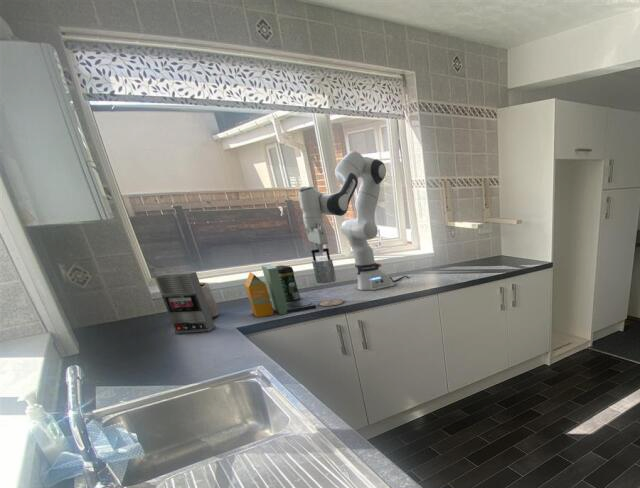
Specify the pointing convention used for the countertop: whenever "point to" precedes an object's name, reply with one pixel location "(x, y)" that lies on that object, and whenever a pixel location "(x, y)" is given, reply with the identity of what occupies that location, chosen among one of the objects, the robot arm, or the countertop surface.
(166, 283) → the cassette tape recorder
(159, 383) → the countertop surface
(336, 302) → the cork mat
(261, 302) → the orange juice
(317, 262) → the grey box with handle
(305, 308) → the coffee maker
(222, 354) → the countertop surface
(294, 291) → the coffee jar
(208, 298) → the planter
